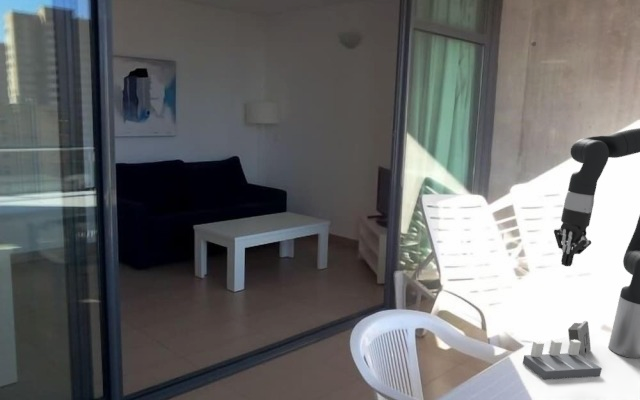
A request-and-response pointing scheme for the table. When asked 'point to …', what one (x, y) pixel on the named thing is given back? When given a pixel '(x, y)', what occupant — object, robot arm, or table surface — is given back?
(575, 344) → the inner knob
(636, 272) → the robot arm
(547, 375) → the block
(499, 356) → the table surface
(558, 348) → the knob
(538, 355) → the outer knob
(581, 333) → the electrical switch
